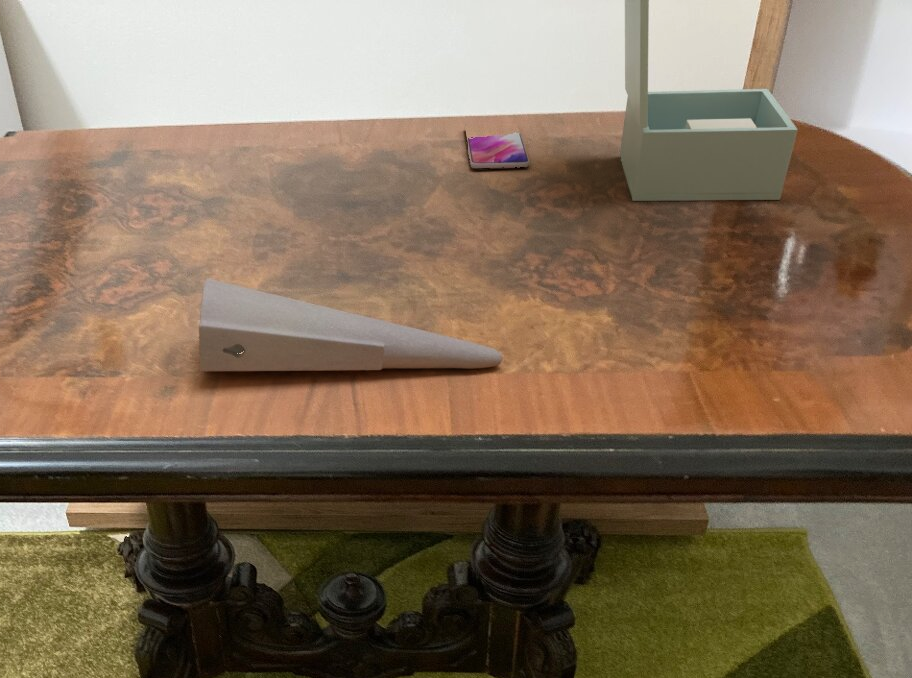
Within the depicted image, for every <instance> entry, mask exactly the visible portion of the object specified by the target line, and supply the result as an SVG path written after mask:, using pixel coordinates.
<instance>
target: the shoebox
mask: <svg viewBox="0 0 912 678" xmlns="http://www.w3.org/2000/svg"><path fill="white" fill-rule="evenodd" d="M747 118H751V120H752V121H753V123H754V124H755V125H756V126H757V128H720V129H685V126H686V121H687V120H700V119H747ZM622 127H623V128H622V134H621V135H622V136H621V142H620V150H619V158H620V157H621V159H620V163H621V162H622V163H621V165H622V169H623V173H624V176H625V179H626V182H627V186H628V190H629V193H630V197H631V200H632V202H668V201H670V202H671V201H672V202H673V201H674V202H675V201H676V202H677V201H679V202H680V201H681V202H682V201H688V202H690V201H780V200H781V197H782V193H783V190H784V186H785V181H786V178H787V174H788V171H789V166H790V162H791V158H792V154H793V150H794V147H795V142H796V139H797V136H798V135H797V134H798V130H799V129H798V128H797V126H796V125H795V123H794V122H793V121H792V120H791V118H790V117H789V115H788V114H787V113H786V112H785V110H784V109H783V107H782V106H781V105H780V104H779V102H778V101H777V100H776V98H775V97H774V96H773V94H772V93H771V92H770V90H769V89H768V88H747V89H745V88H742V89H739V88H738V89H705V90H704V89H703V90H668V91H667V90H665V91H664V90H663V91H662V90H661V91H648V127H647V128H640V127H639V124H638V122H637V119H636V116H635V114H634V111H633V108H632V105H631V103H630V100H629V97H628V96H627V98H626V106H625V114H624V120H623V126H622Z"/></svg>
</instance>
